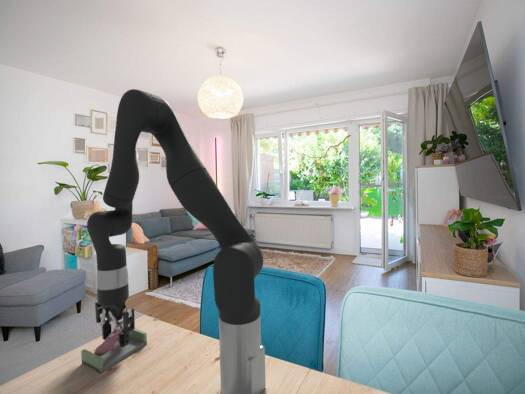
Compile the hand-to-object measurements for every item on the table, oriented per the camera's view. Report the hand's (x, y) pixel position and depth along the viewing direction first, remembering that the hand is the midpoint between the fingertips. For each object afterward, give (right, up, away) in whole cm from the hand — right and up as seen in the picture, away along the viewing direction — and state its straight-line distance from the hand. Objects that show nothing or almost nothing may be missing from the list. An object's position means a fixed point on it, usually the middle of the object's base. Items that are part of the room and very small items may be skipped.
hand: (115, 341), depth 74 cm
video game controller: (0, -1, 0) cm, 1 cm away
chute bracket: (0, -3, 0) cm, 3 cm away
